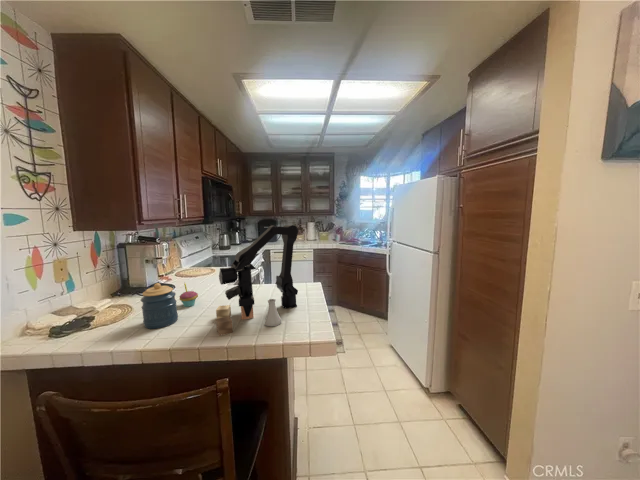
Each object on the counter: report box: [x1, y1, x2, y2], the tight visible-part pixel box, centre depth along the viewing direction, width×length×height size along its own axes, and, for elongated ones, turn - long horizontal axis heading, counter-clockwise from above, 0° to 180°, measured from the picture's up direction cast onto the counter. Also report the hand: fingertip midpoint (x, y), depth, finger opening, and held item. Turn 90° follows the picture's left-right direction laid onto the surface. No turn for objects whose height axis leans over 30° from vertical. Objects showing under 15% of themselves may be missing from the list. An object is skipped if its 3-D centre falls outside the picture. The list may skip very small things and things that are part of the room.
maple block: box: [215, 304, 232, 319], centre depth 118 cm, size 5×5×5 cm
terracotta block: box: [240, 305, 254, 320], centre depth 119 cm, size 5×5×5 cm
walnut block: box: [215, 316, 234, 337], centre depth 105 cm, size 5×5×5 cm
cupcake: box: [178, 281, 199, 308], centre depth 135 cm, size 9×8×12 cm
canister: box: [140, 282, 179, 330], centre depth 115 cm, size 13×13×18 cm
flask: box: [264, 298, 282, 327], centre depth 111 cm, size 7×7×10 cm
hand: (247, 314), depth 119 cm, fingers closed on terracotta block, 5 cm apart
